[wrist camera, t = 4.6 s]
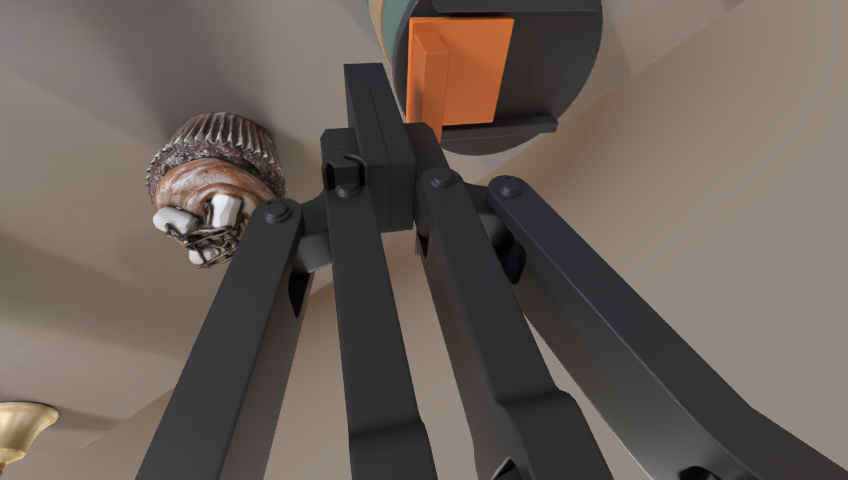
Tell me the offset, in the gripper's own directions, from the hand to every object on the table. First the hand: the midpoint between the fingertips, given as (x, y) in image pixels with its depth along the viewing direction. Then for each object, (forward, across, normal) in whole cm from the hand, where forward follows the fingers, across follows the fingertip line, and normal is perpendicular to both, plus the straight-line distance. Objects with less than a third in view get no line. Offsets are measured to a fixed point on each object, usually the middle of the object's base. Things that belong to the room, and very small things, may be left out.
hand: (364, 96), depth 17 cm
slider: (+2, +4, 0) cm, 5 cm away
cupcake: (+16, -10, -13) cm, 23 cm away
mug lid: (+3, +7, 0) cm, 7 cm away
